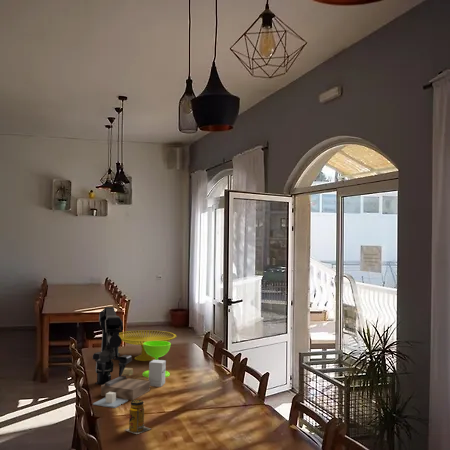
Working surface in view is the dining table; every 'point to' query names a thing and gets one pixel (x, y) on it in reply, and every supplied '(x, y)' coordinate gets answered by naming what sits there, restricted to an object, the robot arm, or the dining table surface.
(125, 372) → the latch
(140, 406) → the condiment
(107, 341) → the robot arm
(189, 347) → the dining table surface
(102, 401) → the cover
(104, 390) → the case
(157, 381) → the supplement box
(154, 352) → the wineglass
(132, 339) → the cake stand
